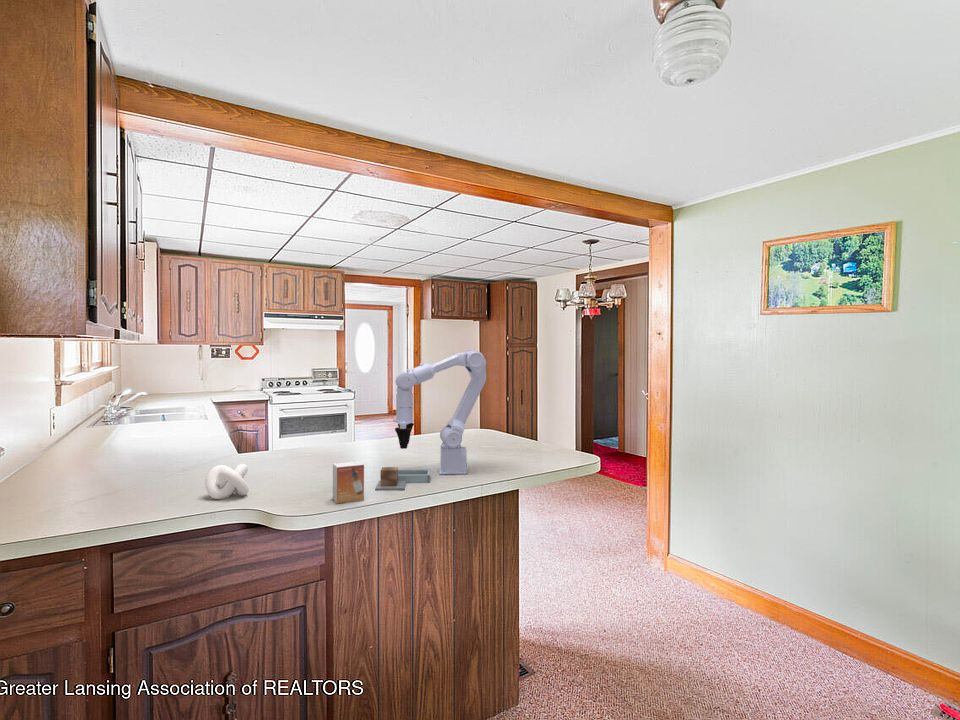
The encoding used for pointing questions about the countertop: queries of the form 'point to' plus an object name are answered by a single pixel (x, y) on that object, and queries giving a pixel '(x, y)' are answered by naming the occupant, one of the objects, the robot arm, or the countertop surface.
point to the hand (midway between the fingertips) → (404, 446)
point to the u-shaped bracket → (414, 476)
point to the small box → (348, 482)
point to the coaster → (400, 486)
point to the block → (389, 476)
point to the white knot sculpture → (226, 481)
